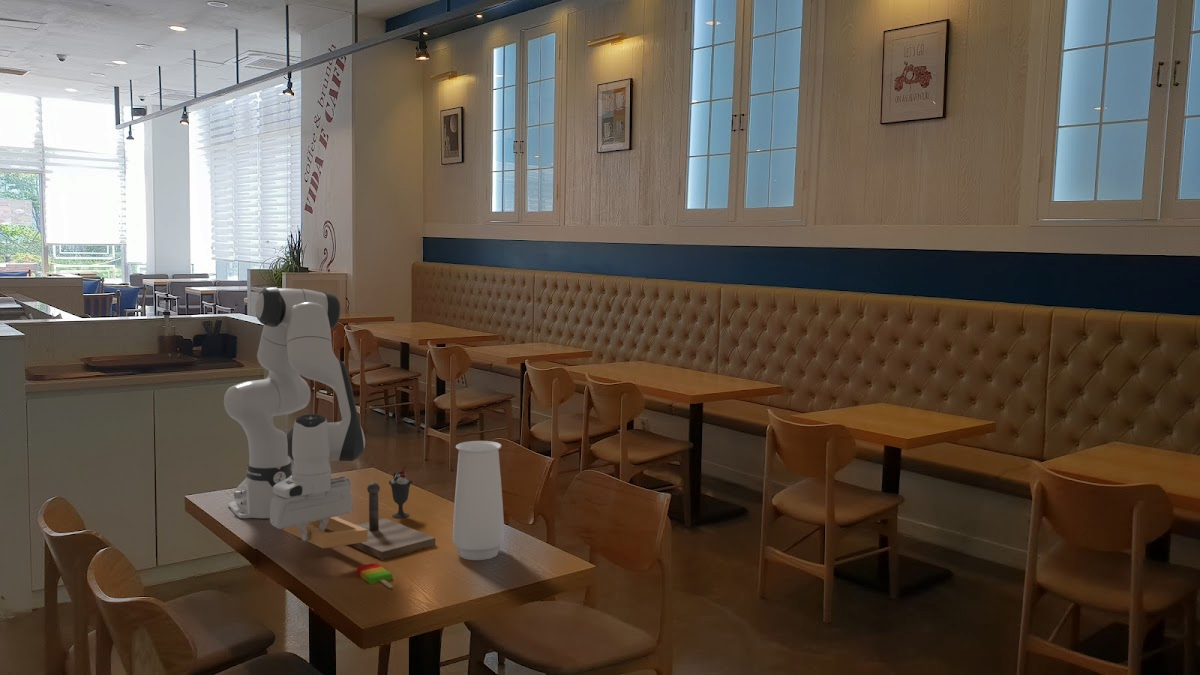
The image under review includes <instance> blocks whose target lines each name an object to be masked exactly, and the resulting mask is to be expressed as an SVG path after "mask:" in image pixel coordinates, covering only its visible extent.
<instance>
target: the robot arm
mask: <svg viewBox="0 0 1200 675" xmlns="http://www.w3.org/2000/svg"><path fill="white" fill-rule="evenodd" d="M254 307H255V309H254V310H255V317H256V319H257V320H258V321H259V323H261V324H262V325H263V327H262V331H261V336H260V339H259V340H260V341H259V344H258V348H257V349H258V350H257V354H256V359H257V361H258V363H259V364H260V366H261V367H262V369H263V368H264V369H265V370H266V371H268V375H267V377H266V378H264V379H263V378H262V379H257V380H254V379H253V380H248V381H243V382H240V383H237V384H235V385H232V386H230V387H229V388H227V390H226V392H225V394H224V398H223V406H224V410H225V412H226V413H227V415H228V416H229V417H230V418H231V419H232V420H235V421H236V422H237V423H238V424H239V425H240V426H241V427H242V429H243V431H244V432H245V435H246V438H247V443H248V445H247V446H248V456H249V457H248V458H249V460H248V461H249V464H247V465H246V466H247V467H246V478H245V479H244V480H242V482H240V484H239V485H238V486H237V487H236V490H235V491H234V493H233V496H234V497H233V498H234V499H235V500H232V501H230V502H228V503H227V507H228V506H229V507H230V508H231V509H230V508H229V507H228V508H229V509H230V511H231V512H233V513H234V515H236V516H237V518H239V519H269V521H270V524H271V525H272V526H273V527H274V528H276V529H278V530H280V529H281V530H283V528H287V527H291V526H296V525H297V527H298V529H299V530H300V532H301V533H302V538H301V540H302V541H303V542H308V541H307V540H311V537H310V536H311V533H310V532H307V531H306V530H305V528H304V527H307V524H308V523H309V522H313V521H318V520H319V521H320V522H321V523H320V526H319V527H317V529H319V530H322V531H324V532H325V529H327V528H326V526H327V524H328V522H329V518H331V517H336V516H340V517H341V516H344V515H348V514H350V513H351V512H352V510H353V508H354V507H353V497H352V493H351V492H352V491H351V490H352V483H351V480H350V478H347V477H346V476H340V477H337V478H332V470H331V468H332V467H331V465H330V462H334V461H339V462H353V461H355V460H356V459H357V458H359V457H360V456H361V455H362V454H363V453H364V452H365V446H366V437H365V433H364V430H363V428H362V425H361V422H360V419H359V414H358V410H357V406H356V402H355V397H354V392H353V388H352V387H353V386H352V384H351V379H350V376H349V372H348V369H347V365H346V364H345V362H343V361H342V360H340V359H338V357H337V356H336V354H335V353H334V351H333V346H332V343H333V342H332V341H333V340H332V332H331V330H333V329H334V328H335V327H336V326H337V325H338V323H339V320H340V317H341V316H340V315H341V303H340V300H339V299H338V297H337V296H336V295H334V294H332V293H330V292H326V291H324V292H323V291H322V292H320V291H316V290H312V289H307V288H284V287H283V288H281V287H280V288H278V287H276V286H274V287H272V286H271V287H266V288H263V289H262V290H261V291H260V292H259V293H258V296H257V298H256V301H255V306H254ZM303 377H304V378H306V379H308V380H312V381H315V382H319V383H321V384H324V385H326V386H327V387H330V388H331V389H332V390H333V391H334V392H335V395H336V397H337V402H338V406H339V411H340V416H341V420H339V421H335V422H331V421H330V422H328V420H327V417H325V416H324V415H320V414H316V413H310V414H308V413H307V414H303V415H300V416H298V417H297V418H295V419H294V421H293V422H294V423H293V427H292V428H291V429H290V430H289V431H288V432H287V433H286V432H285V431H284V430H282V429H280V428H277V427H276V426H275V424H274V417H277V416H284V415H290V414H294V413H295V412H299V411H301V410H303V409H305V408H306V407H307V406H308V405H309V403H310V401H311V388H310V386H309V384H308V382H307V381H306V380H305V379H304V378H303ZM291 460H292V461H293V464H292V462H291Z"/></svg>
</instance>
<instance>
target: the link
mask: <svg viewBox="0 0 1200 675" xmlns="http://www.w3.org/2000/svg"><path fill="white" fill-rule="evenodd" d="M320 523H321V522H320V521H319V520H318V521H313V522H310V525H308V523H307V527H304V528H305V530H306V531H307V532H310V533H311V536H310V537H311V540H307V541H306V542H308V543H311V544H313V545H315V546H316V547H319V548H322V549H327V548H333V547H341V546H346V545H347V546H348V544H355V543H362V542H367V535H368V530H367V529H365V528H362V527H360V526H358V525H356V524H355V523H353V522H350V521H348V520H345V519H342V518H340V517H339V518H338V517H331V518H329V522H328V524H327V526H326V528H325V529H327V530H329V531H331V532H327V531H326V532H325V530H324V531H322V530H319V529H318V528H319V526H320ZM282 530H283V531H284V532H288V533H289V534H291V535H292V536H296V537H298V538H300V539H302V533H301V532H300V530H299V529H298V527H297V525H296V526H291V527H287V528H282ZM332 531H334V532H332Z"/></svg>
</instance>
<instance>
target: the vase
mask: <svg viewBox="0 0 1200 675" xmlns="http://www.w3.org/2000/svg"><path fill="white" fill-rule="evenodd" d="M501 448H502V444H501V443H499V442H496V441H490V440H471V441H470V440H469V441H468V440H467V441H463V442H459V443H458V444H456V445H455V449H457V450H458V456H457V468H456V469H457V470H456V479H455V494H454V504H453V505H454V506H453V507H454V508H453V522H452V523H453V524H452V526H453V527H452V543H453V545H454V547H456V548H457V551H458V555H459V557H460V558H462V559H464V560H467V561H485V560H486V559H487V560H490V559H493V557H494V558H495V557H497V556H498V555H499V550H500V547H501V546H502V545H503V544H504V542H505V521H504V519H505V518H504V506H503V491H502V477H501V466H500V465H501V464H500V453H499V450H500V449H501Z"/></svg>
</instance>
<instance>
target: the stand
mask: <svg viewBox="0 0 1200 675" xmlns="http://www.w3.org/2000/svg"><path fill="white" fill-rule="evenodd" d="M380 489H381V487H380V485H379V484H378V483H377V482H370V483H369V484H368V485H367V493H368V519H369V520H368V521H365V522H361V523H356V524H355V525H358V526H360V527H362V528H365V529H367V530H368V535H367V542H362V543H355V544H348V545H349V546H350V547H353V548H355V549H358V550H359V549H360V551H362V552H364V553H366V552H367V554H368V553H369V554H368V555H371V554H372V555H371V556H373V555H374V556H373V557H375V556H376V557H375V558H377V557H378V559H379V558H380V560H382V559H383V560H386V559H385V558H387V559H390V558H394V557H398V556H401V555H404V553H405V554H407V553H408V552H409V553H411V551H412V552H415V550H416V551H419V550H418V549H420V550H423V549H422V548H424V549H427V548H430V546H431V547H434V545H435V546H436V537H434V536H432V535H429V534H427V533H424V532H422V531H419V530H417V529H414V528H412V527H409V526H406V525H404V524H401V523H398V522H395V521H393V520H391V519H388V518H386V517H382V518H379V492H380ZM331 532H334V531H332V530H331ZM348 545H347V546H348ZM400 554H401V555H400ZM397 555H398V556H397ZM393 556H394V557H393ZM389 557H390V558H389Z"/></svg>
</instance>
